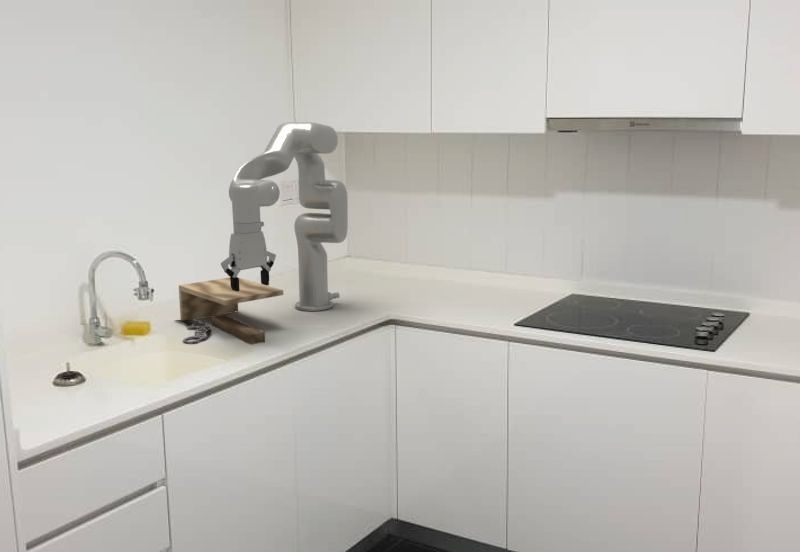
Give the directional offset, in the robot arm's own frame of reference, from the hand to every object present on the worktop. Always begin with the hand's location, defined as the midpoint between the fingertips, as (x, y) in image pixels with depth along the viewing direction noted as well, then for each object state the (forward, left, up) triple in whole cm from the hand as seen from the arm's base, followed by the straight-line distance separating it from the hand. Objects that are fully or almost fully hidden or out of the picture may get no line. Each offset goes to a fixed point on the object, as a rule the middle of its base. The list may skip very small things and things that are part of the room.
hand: (250, 287), depth 234 cm
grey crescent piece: (+7, -21, -16) cm, 28 cm away
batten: (-3, -10, -15) cm, 18 cm away
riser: (-5, -21, -16) cm, 26 cm away
